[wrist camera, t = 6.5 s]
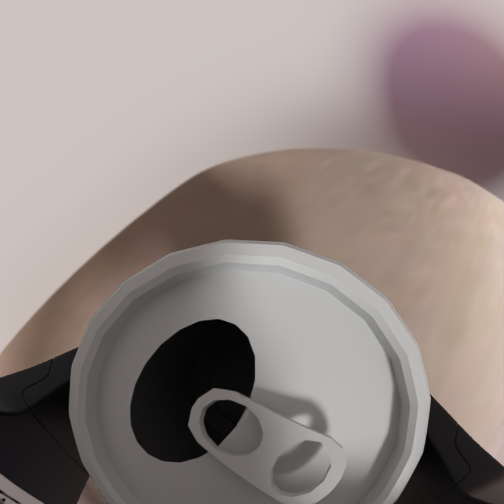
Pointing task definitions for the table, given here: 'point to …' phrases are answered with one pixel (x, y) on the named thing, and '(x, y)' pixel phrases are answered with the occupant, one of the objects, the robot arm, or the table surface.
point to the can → (248, 383)
